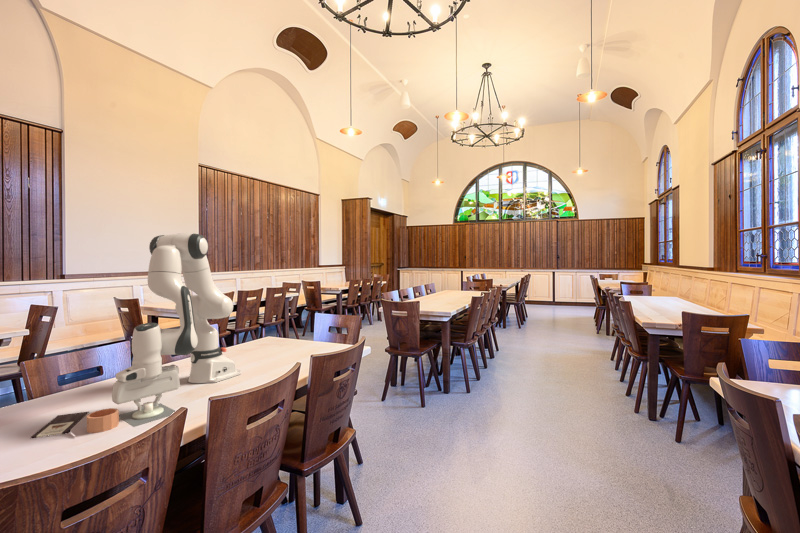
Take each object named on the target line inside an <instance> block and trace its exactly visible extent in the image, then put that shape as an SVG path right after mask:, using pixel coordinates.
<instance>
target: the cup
mask: <svg viewBox="0 0 800 533" xmlns="http://www.w3.org/2000/svg"><path fill="white" fill-rule="evenodd" d="M119 410H120V409H118V408H115V407H114V408H111V407H110V408H109V407H108V408H105V409H104V408H103V409H99V410H95V411H93V412H91V413H90V412H89V413H87V414H86V432H87V433H88V434H89V433H91V434H96V433H103V432H107V431H110V430H113V429H115V428H116V427H118V426H119V425H120V418H119V415H120V411H119Z"/></svg>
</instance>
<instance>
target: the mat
mask: <svg viewBox="0 0 800 533" xmlns="http://www.w3.org/2000/svg"><path fill="white" fill-rule="evenodd" d="M158 407H162V408H163V409H164V412H163V413H162V414H160V415H158V416H156V417H152V418H148V419H133V418H132V414H133V413H134V412H136V411H138V409H135V410H131V411H126V412H124V413H119V419H121V420H122V421H124V422H125V423H127V424H128V425H130V426H132V427H133V428H136V427H138V426H141V425H144V424H148V423H152V422H155V421H158V420H162V419H165V418H169V417H171V416H170V415H171V414H172V413H173V412H175V411H176V410H175V409H172V408H171V407H169V406H167V405H164V404H162V403H158Z"/></svg>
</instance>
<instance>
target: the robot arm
mask: <svg viewBox="0 0 800 533" xmlns="http://www.w3.org/2000/svg"><path fill="white" fill-rule="evenodd" d="M148 249H149V252H150V254H151V257H150V260H149V265H148V271H147V287H148V288H149V290H150V291H151V293H152V294H155V295H156V296H159V297H160V298H161V297H162V298H164V299H166V300H169V301H172V302H174V304H175V309H174V310H175V312H176V314H177V316H178V317H179V325H180V326H179V328H160V324H159V323H156V322H146V323H141V324H138V325H136V326H135V327H134V329H133V333H132V339H131V352H132V355H133V358H132V362H131V366H128V367H127V368H125V369H123V370H121V371H118V372H117V373H116V374H115V379H116V380H115V382H114V384H113V387H112V394H111V400H112V402H113V403H114V404H115V405H122V404H127V403H130V402H134V404H135V405H136V406H137V410H138V411H139V412H140V411H143V410H144V405H143V404H141V399H145V398H149V397H153V396H154V397H155V399H154V400H153V401H152V402H153V408H154V407H158V404H159V401H160V400H161V398H162V396H163V394H166V393H168V392H172V391H175V390H178V389H179V388H180V387H181V386H180V385H181V383H180V382H181V381H180V377H179V374H180V368H179V366H178V365H175V364H170V365H165V366H163V357H162V356H173V355H175V356H188V355H190V362H191V364H190V365H191V366H190V371H189V377H188V379H187V382H189V383H190V384H208V383H209V384H212V383H214V384H215V383H218V382H222V381H224V380H227V379H230V378H234V377H236V376H239V375H241V374H242V371H241V370H240V369H237V366H236V363H235V361H234V360H233V359H231V358H229V357H227V355H225V354H223V353H226V352H227V348H226V347H220V346H219V331H218V330H217V328H216V327H214V326H213V325H211V324H210V322H208V320H219V319H220V320H221V319H225V318H228V317H229V316H231V314H232V313H233V310H234V302H233V300H232V299H231V298H230V297H229V296H227V295H226V294H224V293H223V292H222V291H221V290H220V289H219V287H218V286H217V285H216V283H215V281H214V278H213V274H212V271H211V267H210V263H209V260H208V256H207V254H208V251H209V242H208V240H207V238H206V237H205V236H204V235H203V234H200V233H176V234H175V233H173V234H166V235H165V234H162V235H161V234H160V235H156V236H154V237H153V238H152V239H151V241H150V242H149V248H148ZM182 278H183V279H182ZM183 280H184V283H183ZM184 284H185V285H184ZM190 291H191V292H193V293H195V294H196V295H191V292H190Z"/></svg>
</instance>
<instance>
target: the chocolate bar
mask: <svg viewBox="0 0 800 533" xmlns="http://www.w3.org/2000/svg"><path fill="white" fill-rule="evenodd" d="M88 414H90V411H83V412H82V411H81V412H75V413H67V414H59V415H56V416H55V417H53V419H52V420H50V421H49V422H48V423H46V424H45V425H44V426H43V427H41V428H40V429H39V430H37V432H35V433H34V434H33V435H32V436H30V439H31V438H32V439H37V437H39V438H44V437H43V436H46V437H49V436H48V435H53V436H57V435H56V434H60V435H65V433H67V434H68V433H70V432H71V429H73V428H74V427H75V426H76V425H78V423H79V422H80V421H81V420H83V418H84V417H85V416H87V415H88Z"/></svg>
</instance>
